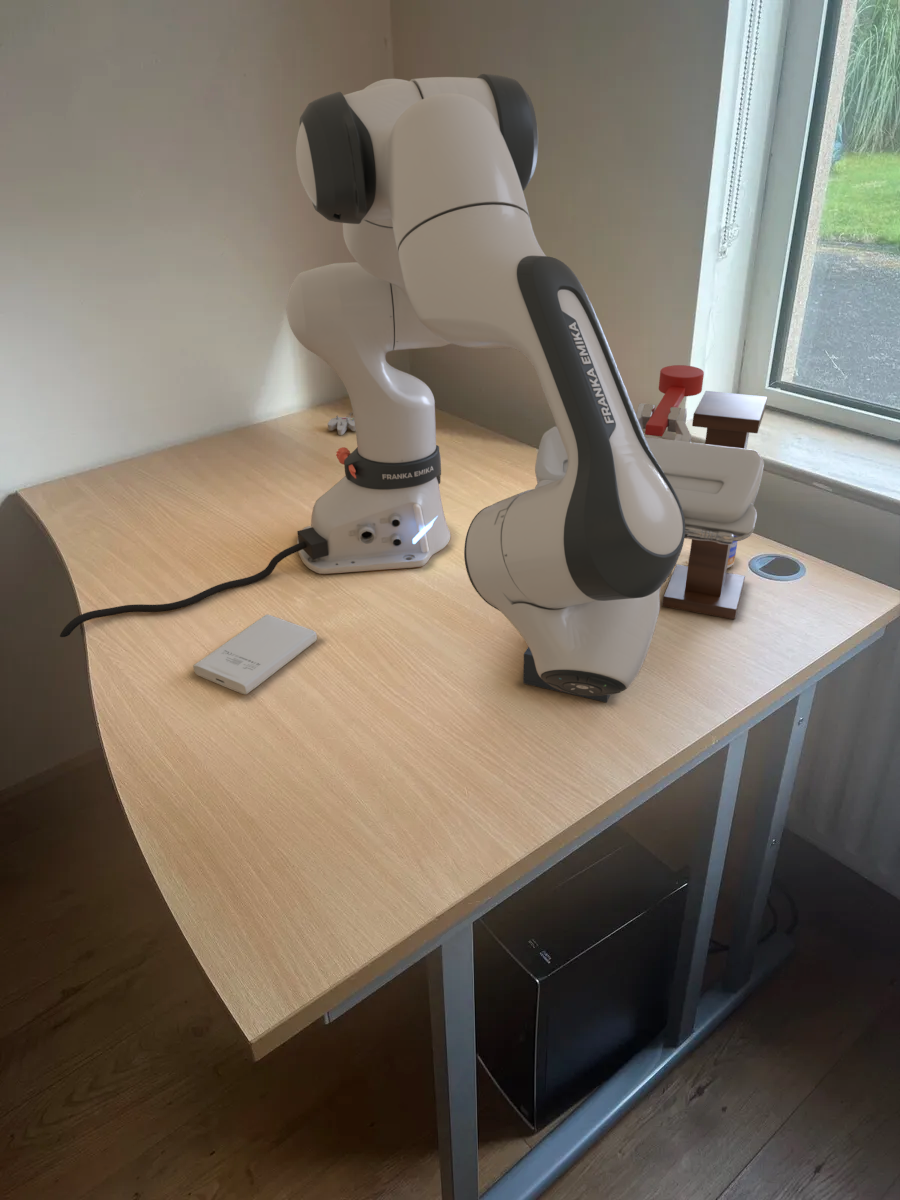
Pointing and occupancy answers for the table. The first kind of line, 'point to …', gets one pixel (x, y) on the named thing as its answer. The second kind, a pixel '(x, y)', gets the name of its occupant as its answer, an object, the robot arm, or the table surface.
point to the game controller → (341, 424)
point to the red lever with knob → (673, 394)
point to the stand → (706, 572)
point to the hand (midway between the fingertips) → (663, 410)
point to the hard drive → (255, 654)
